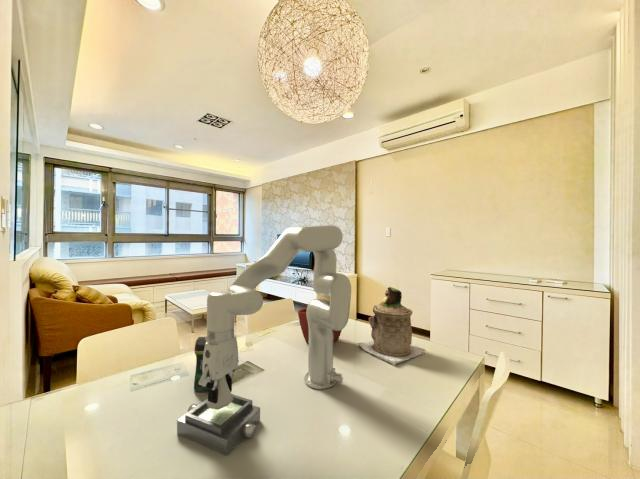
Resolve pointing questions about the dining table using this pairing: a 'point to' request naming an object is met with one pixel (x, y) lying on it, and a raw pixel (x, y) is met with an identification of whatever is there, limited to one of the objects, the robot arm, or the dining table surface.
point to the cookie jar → (391, 331)
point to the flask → (221, 395)
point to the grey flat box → (220, 424)
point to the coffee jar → (199, 364)
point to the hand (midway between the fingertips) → (220, 395)
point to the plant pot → (305, 327)
